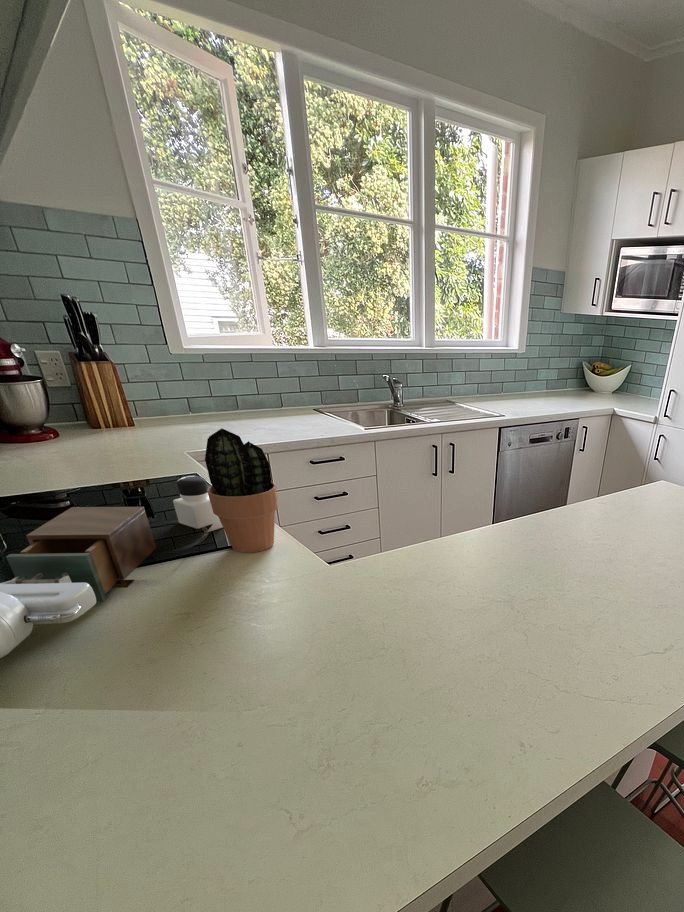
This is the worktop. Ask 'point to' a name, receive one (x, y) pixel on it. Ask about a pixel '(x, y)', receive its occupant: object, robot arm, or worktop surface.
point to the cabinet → (105, 534)
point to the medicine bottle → (195, 504)
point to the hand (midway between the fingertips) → (45, 580)
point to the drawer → (67, 563)
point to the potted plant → (241, 491)
